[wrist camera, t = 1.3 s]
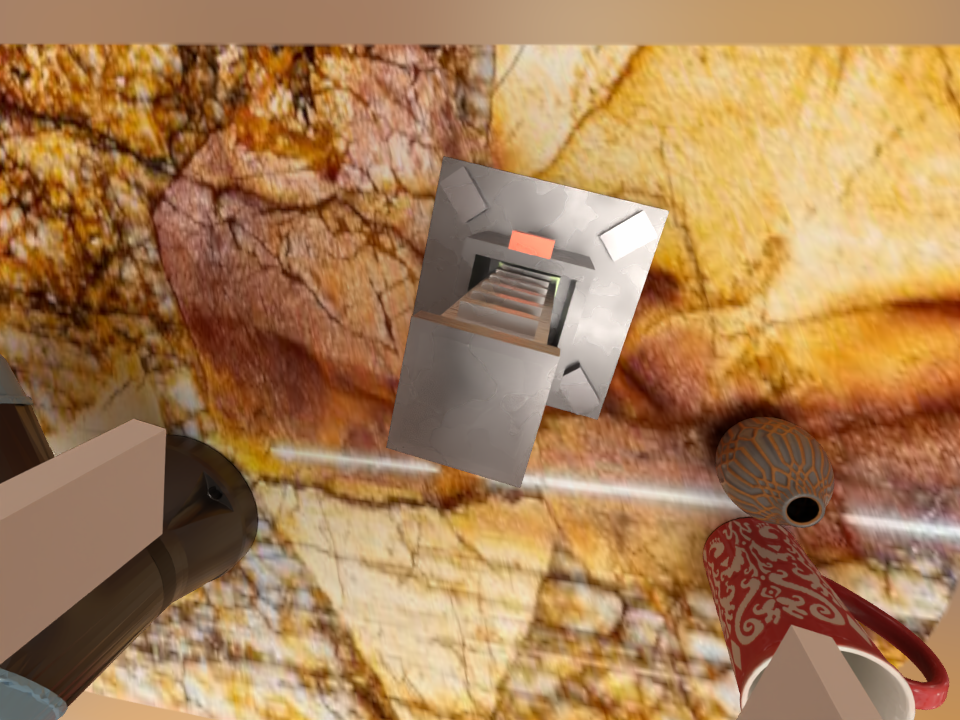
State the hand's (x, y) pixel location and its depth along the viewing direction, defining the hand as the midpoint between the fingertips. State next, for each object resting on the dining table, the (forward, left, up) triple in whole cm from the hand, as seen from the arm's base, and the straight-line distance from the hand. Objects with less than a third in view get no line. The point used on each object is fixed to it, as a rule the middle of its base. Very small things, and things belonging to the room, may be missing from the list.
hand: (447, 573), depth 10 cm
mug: (+24, -15, -30) cm, 41 cm away
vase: (+19, -6, -30) cm, 36 cm away
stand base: (-1, +1, -30) cm, 30 cm away
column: (-1, +1, -29) cm, 29 cm away
